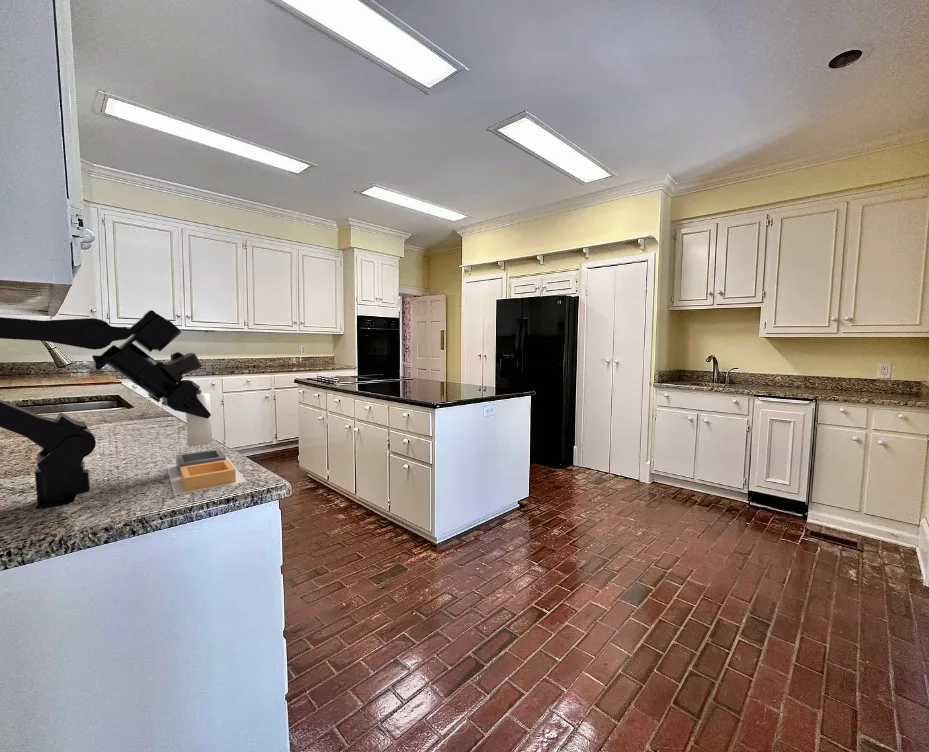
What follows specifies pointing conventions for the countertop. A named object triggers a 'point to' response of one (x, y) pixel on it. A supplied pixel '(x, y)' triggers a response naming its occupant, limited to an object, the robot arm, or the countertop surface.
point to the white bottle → (200, 424)
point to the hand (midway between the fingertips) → (206, 415)
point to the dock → (202, 472)
